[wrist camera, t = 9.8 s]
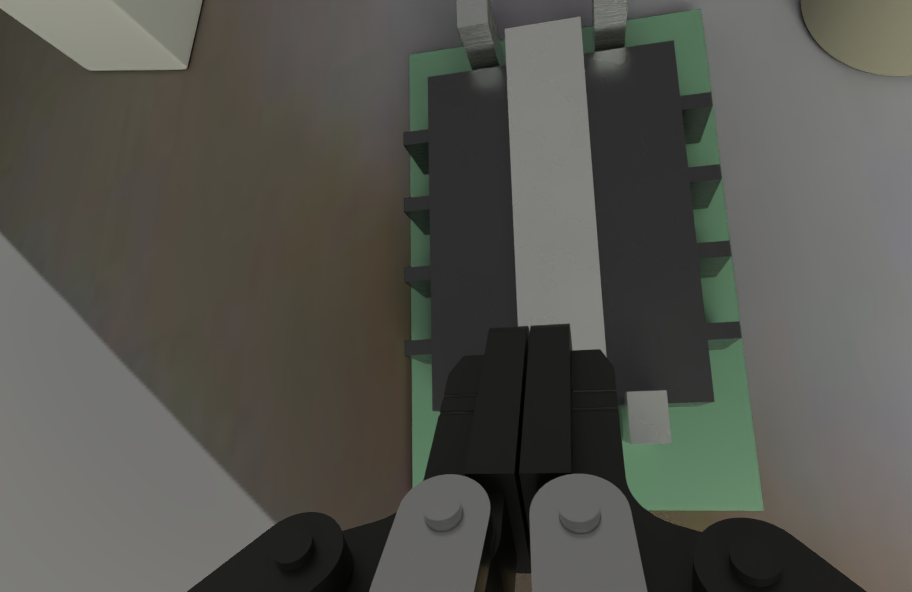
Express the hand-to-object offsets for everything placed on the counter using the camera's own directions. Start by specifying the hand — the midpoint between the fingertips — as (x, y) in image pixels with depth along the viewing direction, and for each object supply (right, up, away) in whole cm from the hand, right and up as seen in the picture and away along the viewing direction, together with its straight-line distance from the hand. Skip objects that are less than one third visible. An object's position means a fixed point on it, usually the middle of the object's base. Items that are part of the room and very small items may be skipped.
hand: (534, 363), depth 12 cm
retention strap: (+2, +4, +12) cm, 13 cm away
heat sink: (+3, +4, +16) cm, 17 cm away
